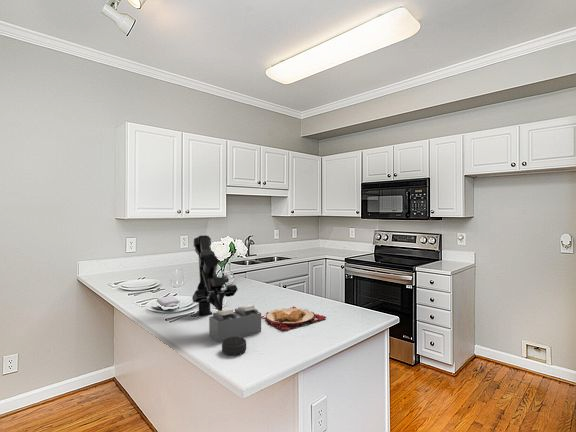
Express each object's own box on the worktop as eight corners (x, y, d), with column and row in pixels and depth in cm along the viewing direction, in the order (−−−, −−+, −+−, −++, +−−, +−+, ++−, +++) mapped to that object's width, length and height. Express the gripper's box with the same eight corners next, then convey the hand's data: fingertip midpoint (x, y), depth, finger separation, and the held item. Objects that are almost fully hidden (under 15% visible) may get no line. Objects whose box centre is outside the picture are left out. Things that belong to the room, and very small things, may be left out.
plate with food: (327, 321, 165) (327, 313, 165) (283, 332, 148) (283, 324, 148) (293, 309, 184) (293, 302, 184) (251, 318, 167) (251, 311, 167)
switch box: (209, 336, 143) (209, 313, 143) (251, 326, 155) (251, 305, 155) (217, 342, 137) (217, 318, 136) (261, 331, 148) (261, 309, 148)
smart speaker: (237, 344, 135) (237, 334, 135) (251, 352, 128) (251, 341, 128) (217, 350, 129) (217, 340, 129) (230, 358, 122) (230, 347, 122)
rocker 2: (238, 311, 149) (237, 307, 150) (247, 309, 152) (246, 305, 152) (245, 311, 144) (245, 307, 145) (254, 309, 147) (254, 305, 147)
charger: (165, 314, 172) (156, 307, 184) (184, 311, 177) (174, 304, 189) (165, 304, 172) (156, 298, 184) (184, 301, 177) (174, 295, 189)
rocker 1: (216, 315, 144) (216, 311, 144) (226, 313, 146) (226, 309, 146) (223, 315, 138) (222, 311, 139) (233, 313, 141) (232, 309, 141)
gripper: (195, 271, 143) (205, 305, 135) (236, 266, 154) (247, 298, 146) (188, 285, 150) (197, 319, 142) (227, 280, 161) (238, 310, 153)
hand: (221, 311), depth 145 cm, fingers closed, pressing on rocker 1
